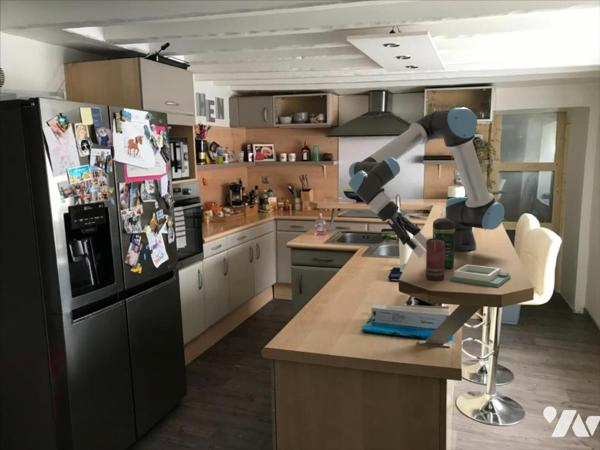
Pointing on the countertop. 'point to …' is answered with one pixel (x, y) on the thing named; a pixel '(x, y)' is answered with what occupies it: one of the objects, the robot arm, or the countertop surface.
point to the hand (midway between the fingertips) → (426, 251)
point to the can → (435, 259)
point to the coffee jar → (445, 238)
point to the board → (480, 275)
